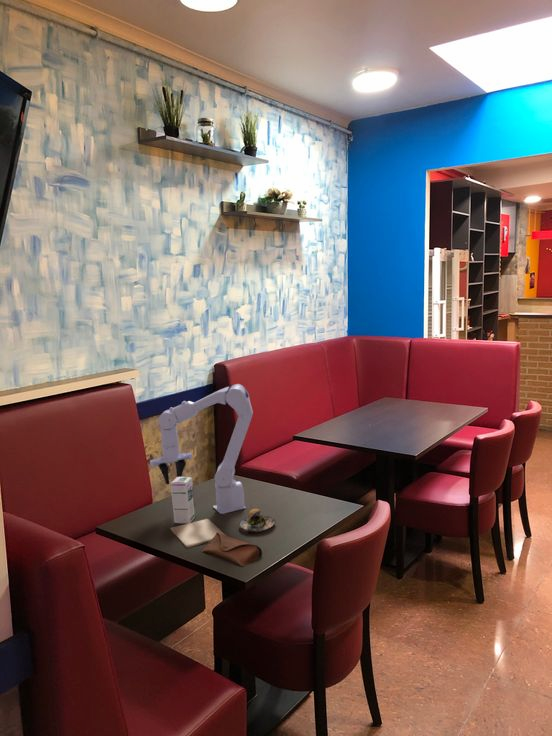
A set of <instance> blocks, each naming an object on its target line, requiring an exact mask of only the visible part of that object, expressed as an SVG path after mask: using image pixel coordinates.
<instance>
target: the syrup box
mask: <svg viewBox="0 0 552 736" xmlns="http://www.w3.org/2000/svg"><path fill="white" fill-rule="evenodd" d="M170 491H171V502H172V511H173V522H174V523H175V524H182V525H185V524H189V523H192V522H193V520H194V519H195V518H196V517H197V514H196V506H195V505H196V504H195V495H194V494H195V493H194V484H193V476H185V475H183V476H182V477H177V476H176V477H175V478H174V479H173V480H172V481H171V482H170Z"/></svg>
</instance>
